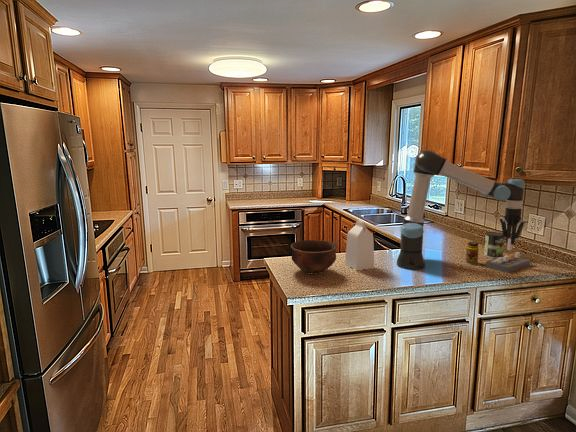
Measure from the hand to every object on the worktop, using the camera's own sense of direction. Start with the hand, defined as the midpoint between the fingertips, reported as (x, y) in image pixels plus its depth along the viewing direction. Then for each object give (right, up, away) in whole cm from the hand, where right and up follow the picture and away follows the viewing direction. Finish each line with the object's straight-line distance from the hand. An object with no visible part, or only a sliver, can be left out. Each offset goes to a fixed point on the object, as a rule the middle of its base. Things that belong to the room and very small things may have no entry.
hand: (509, 249), depth 207 cm
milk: (-83, -10, +4) cm, 83 cm away
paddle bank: (0, -6, +1) cm, 6 cm away
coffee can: (+2, -6, +20) cm, 21 cm away
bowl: (-109, -12, -5) cm, 110 cm away
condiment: (-17, -8, +8) cm, 21 cm away
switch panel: (0, -9, +2) cm, 9 cm away
